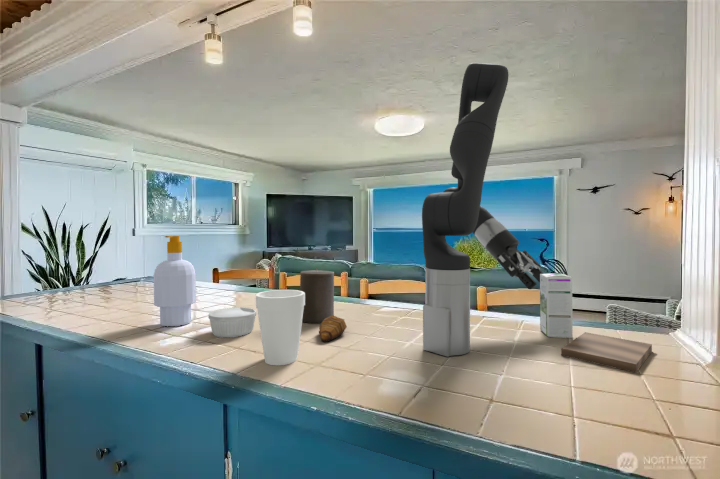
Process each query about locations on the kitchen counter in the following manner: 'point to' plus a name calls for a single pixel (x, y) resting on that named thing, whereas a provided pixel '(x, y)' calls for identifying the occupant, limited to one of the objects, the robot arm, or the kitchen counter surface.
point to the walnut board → (608, 351)
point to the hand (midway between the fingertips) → (540, 285)
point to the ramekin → (232, 321)
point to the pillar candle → (317, 295)
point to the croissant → (331, 328)
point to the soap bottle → (174, 286)
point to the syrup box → (556, 305)
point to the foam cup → (280, 324)
